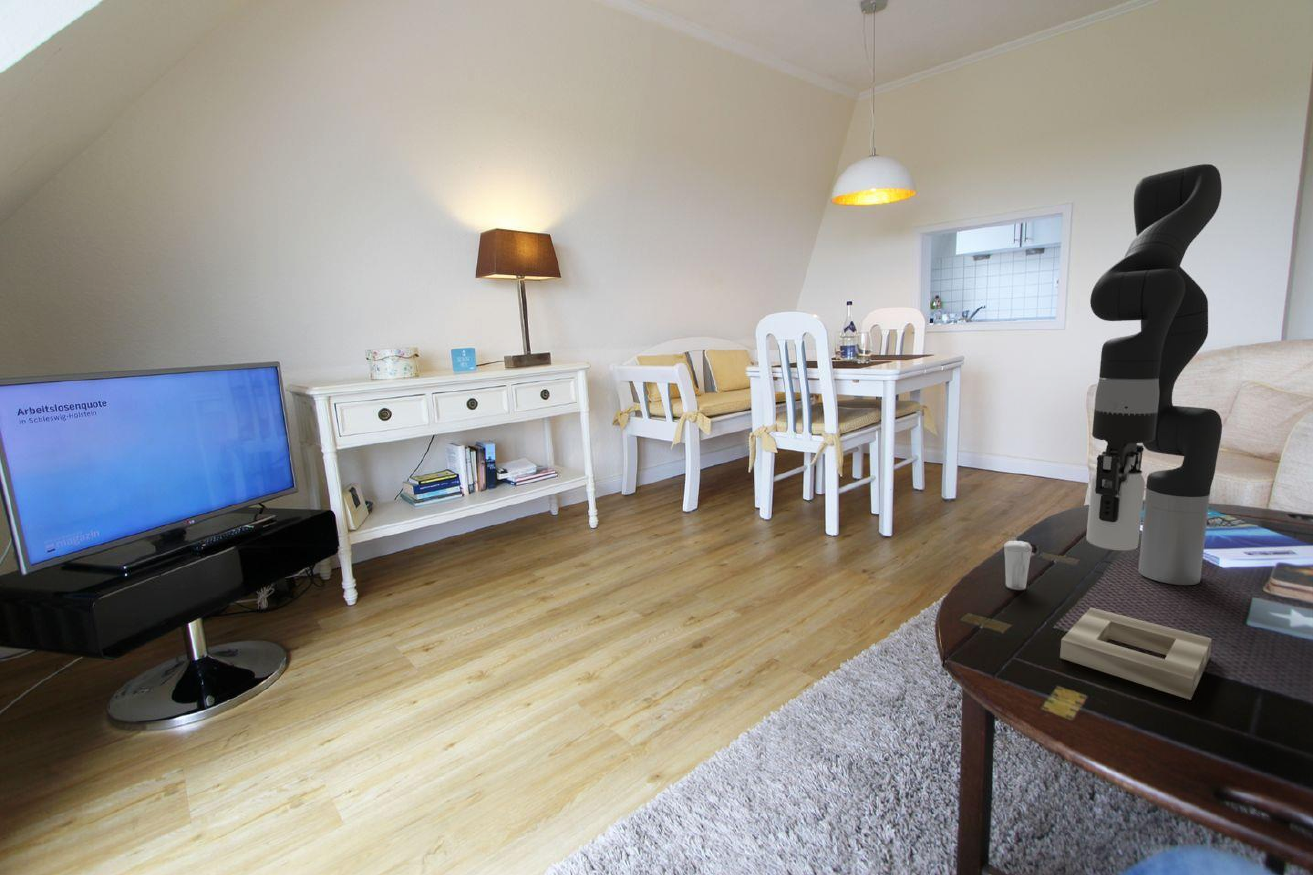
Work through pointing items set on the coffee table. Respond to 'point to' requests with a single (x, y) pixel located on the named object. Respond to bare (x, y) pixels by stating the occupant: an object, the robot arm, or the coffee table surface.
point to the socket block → (1163, 674)
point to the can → (1129, 518)
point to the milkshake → (1017, 563)
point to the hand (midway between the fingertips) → (1115, 515)
